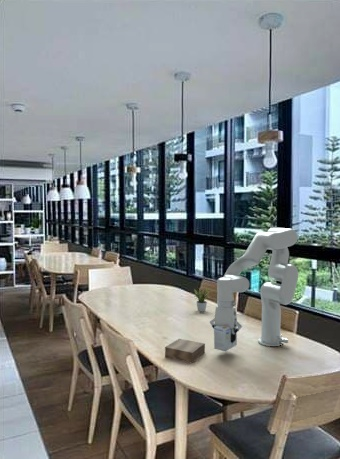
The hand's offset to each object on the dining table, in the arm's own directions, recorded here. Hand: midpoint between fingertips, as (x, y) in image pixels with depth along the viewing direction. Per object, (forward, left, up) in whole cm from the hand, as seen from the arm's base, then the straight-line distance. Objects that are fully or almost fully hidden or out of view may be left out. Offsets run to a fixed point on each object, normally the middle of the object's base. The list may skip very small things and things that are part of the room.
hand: (225, 340), depth 184 cm
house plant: (+44, -65, -7) cm, 79 cm away
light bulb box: (0, 0, -4) cm, 4 cm away
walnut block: (+15, +12, -7) cm, 21 cm away
